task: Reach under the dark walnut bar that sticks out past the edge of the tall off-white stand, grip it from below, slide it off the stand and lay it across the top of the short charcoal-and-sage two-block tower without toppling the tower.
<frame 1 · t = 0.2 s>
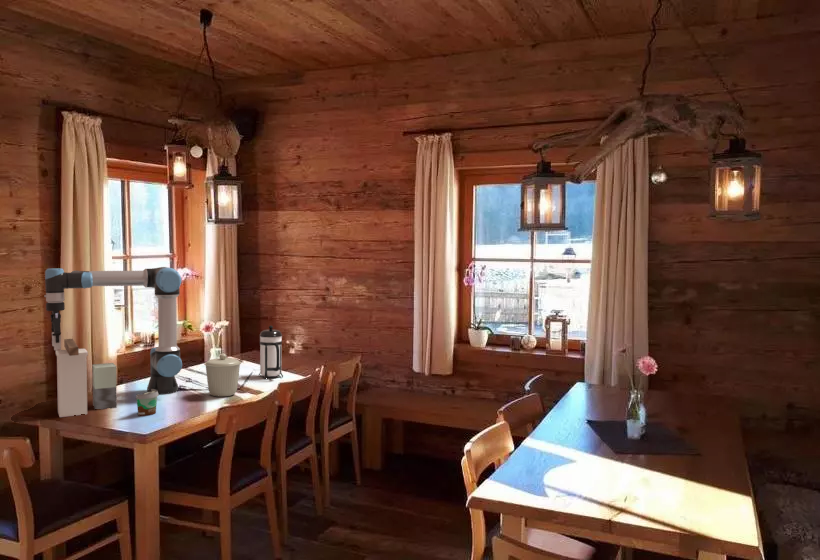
hand: (56, 348, 306), 28 cm above the table, tool pointing down, fingers open, 13 cm apart
tower base block: (104, 406, 312), on the table, touching tower top block
food container: (150, 414, 300), on the table
tall stand: (72, 412, 299), on the table
coffee press: (272, 377, 384), on the table
tower top block: (104, 386, 311), point 10 cm above the table, touching tower base block
walnut bar: (71, 350, 300), point 28 cm above the table, touching tall stand
canister: (222, 395, 339), on the table
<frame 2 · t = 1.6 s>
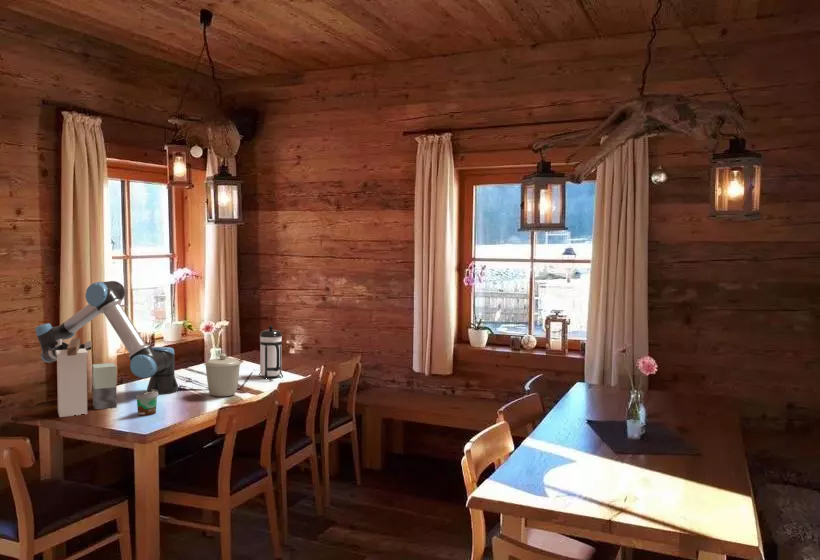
hand: (76, 342, 319), 29 cm above the table, tool pointing upward, fingers open, 13 cm apart
walnut bar: (74, 350, 300), point 28 cm above the table, touching tall stand
everything else where it was.
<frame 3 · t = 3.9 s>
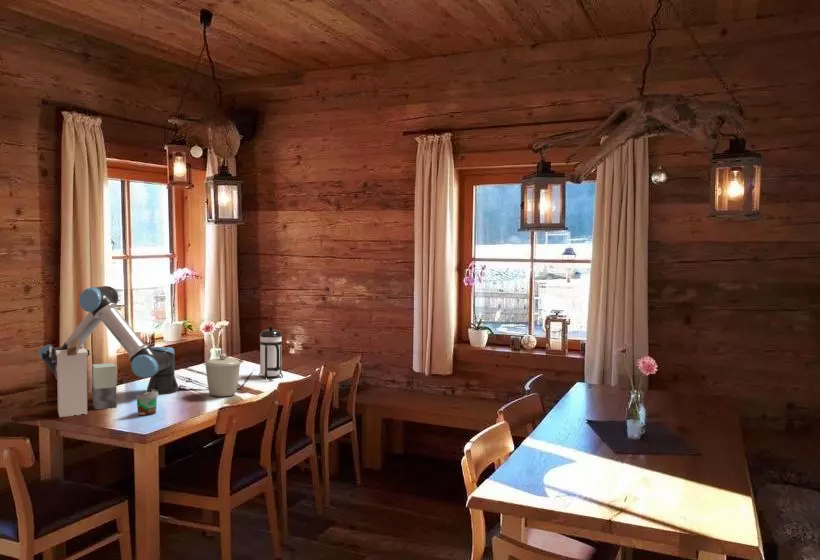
hand: (66, 348, 313), 27 cm above the table, tool pointing upward, fingers open, 13 cm apart
nothing on the table moved.
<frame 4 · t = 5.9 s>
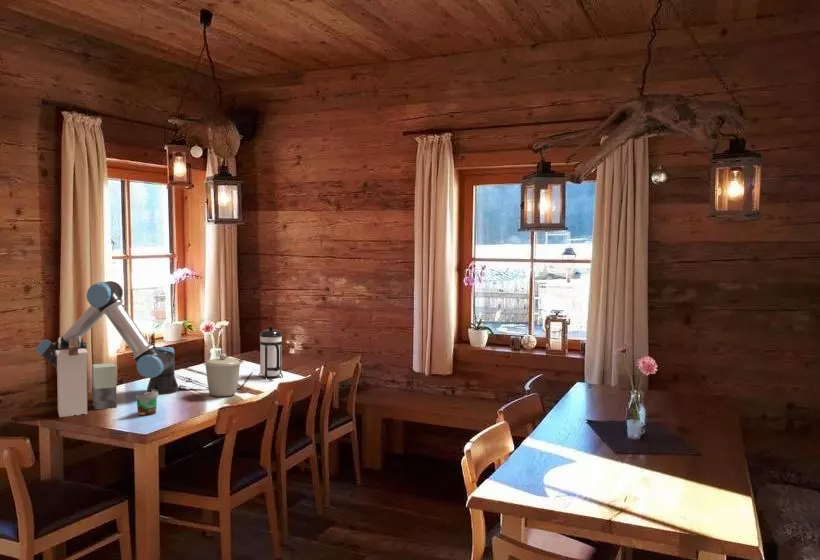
hand: (69, 339, 304), 32 cm above the table, tool pointing upward, fingers open, 8 cm apart
walnut bar: (73, 350, 300), point 28 cm above the table, touching gripper, tall stand
everything else where it was.
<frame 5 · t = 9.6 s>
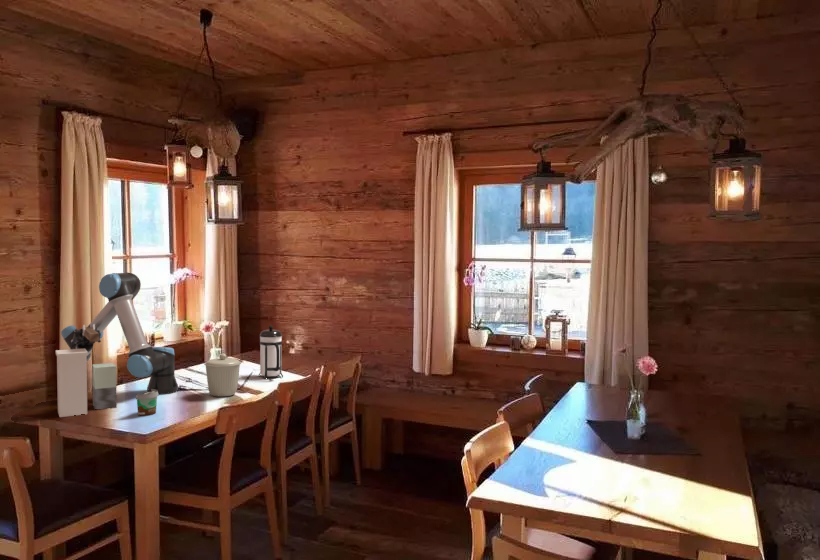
hand: (89, 327, 316), 37 cm above the table, tool pointing upward, fingers closed on walnut bar, 3 cm apart
walnut bar: (90, 337, 311), point 32 cm above the table, touching gripper
everything else where it was.
when the fingers open (25 cm above the table, at t = 13.1 s): walnut bar drops 1 cm, point 19 cm above the table.
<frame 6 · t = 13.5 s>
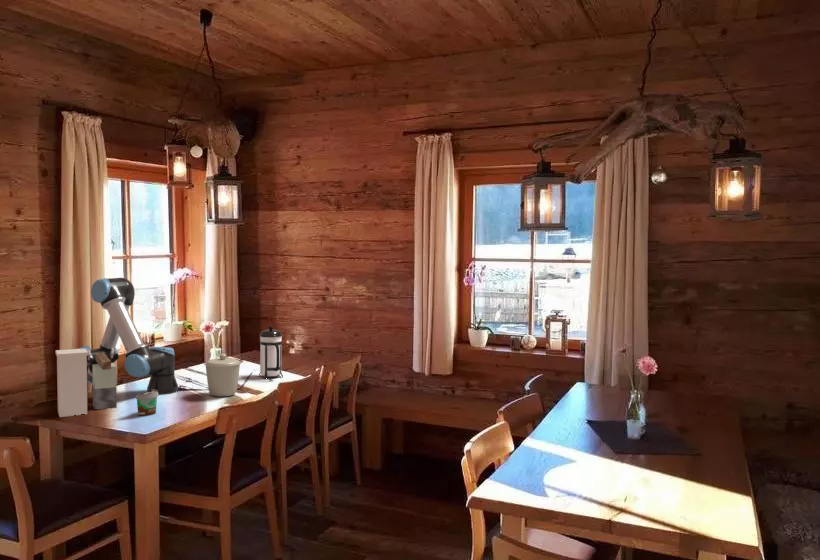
hand: (101, 351, 318), 25 cm above the table, tool pointing upward, fingers open, 9 cm apart
walnut bar: (103, 364, 313), point 19 cm above the table
everything else where it was.
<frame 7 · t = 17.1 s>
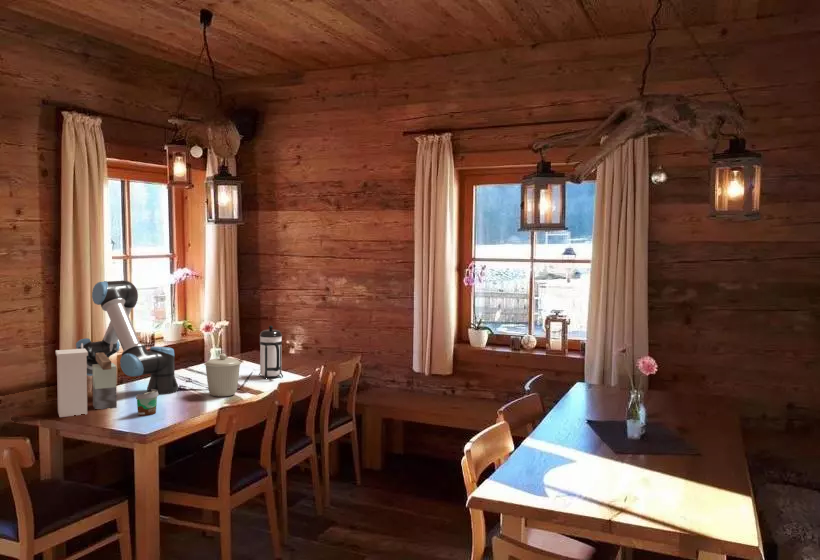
hand: (97, 344, 332), 26 cm above the table, tool pointing upward, fingers open, 13 cm apart
tower top block: (104, 386, 311), point 10 cm above the table, touching tower base block, walnut bar
walnut bar: (103, 364, 313), point 19 cm above the table, touching tower top block
everything else where it was.
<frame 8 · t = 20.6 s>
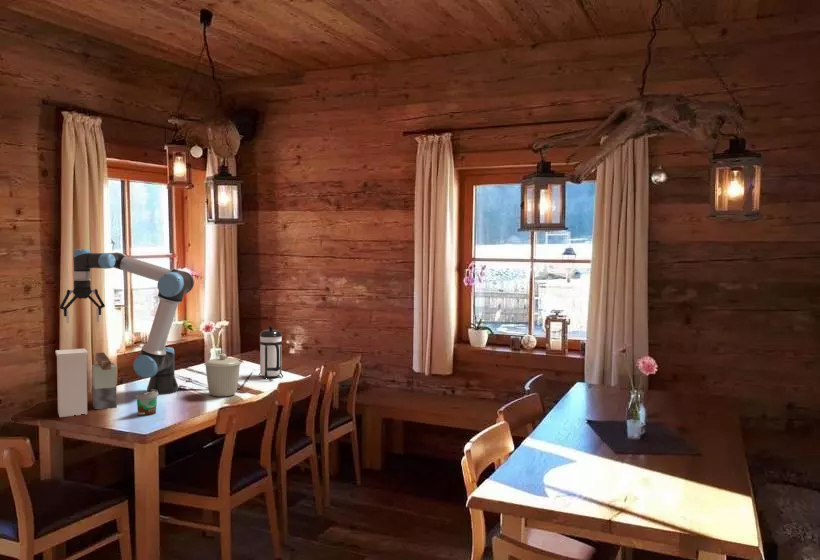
hand: (82, 322, 332), 37 cm above the table, tool pointing down, fingers open, 13 cm apart
nothing on the table moved.
at the end: walnut bar inside the target area (0.2 cm from its centre), point 19.4 cm above the table; tower top block point 9.7 cm above the table; the gripper is holding nothing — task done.
